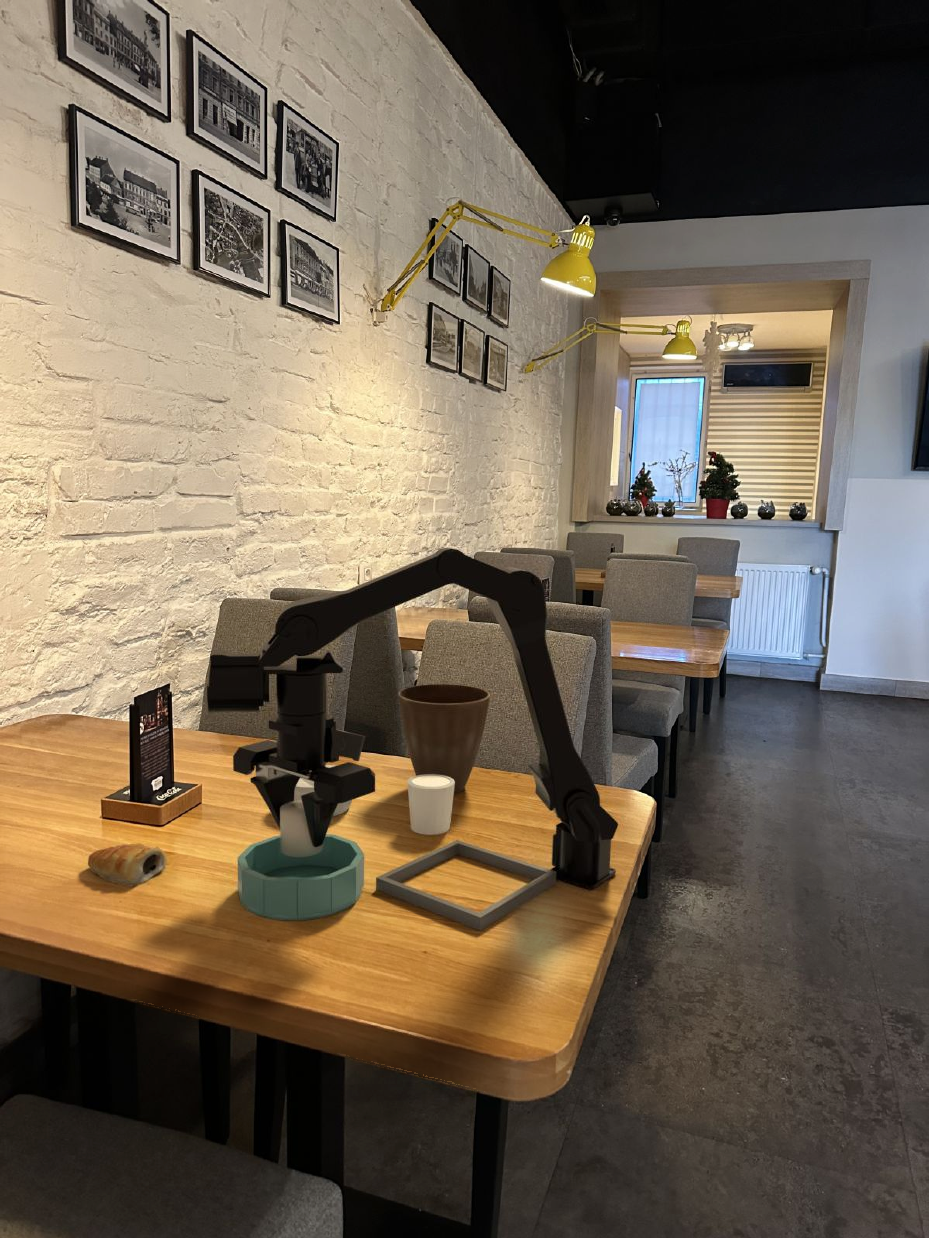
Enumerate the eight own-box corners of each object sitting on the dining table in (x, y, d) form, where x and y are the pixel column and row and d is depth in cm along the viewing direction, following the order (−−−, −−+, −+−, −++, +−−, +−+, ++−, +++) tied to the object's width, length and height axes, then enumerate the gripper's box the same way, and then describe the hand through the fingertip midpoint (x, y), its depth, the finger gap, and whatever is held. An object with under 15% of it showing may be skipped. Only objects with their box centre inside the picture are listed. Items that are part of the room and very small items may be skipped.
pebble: (332, 847, 100) (332, 806, 99) (300, 860, 96) (299, 818, 95) (304, 836, 103) (303, 797, 102) (271, 849, 99) (271, 808, 98)
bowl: (386, 889, 101) (387, 853, 101) (295, 933, 90) (295, 893, 89) (306, 857, 110) (306, 824, 109) (214, 894, 99) (213, 857, 98)
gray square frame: (556, 883, 104) (556, 871, 104) (480, 930, 92) (480, 917, 91) (456, 850, 113) (456, 839, 113) (375, 889, 101) (376, 877, 101)
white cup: (397, 830, 120) (397, 783, 119) (421, 815, 126) (422, 770, 125) (439, 839, 117) (440, 791, 116) (462, 824, 123) (463, 778, 122)
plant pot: (497, 800, 134) (499, 701, 132) (403, 805, 131) (405, 704, 129) (476, 772, 148) (478, 683, 146) (392, 775, 145) (393, 684, 143)
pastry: (73, 877, 103) (72, 847, 103) (113, 857, 109) (112, 829, 109) (135, 890, 100) (135, 859, 99) (173, 869, 106) (173, 839, 106)
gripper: (408, 711, 98) (407, 840, 100) (300, 688, 109) (301, 805, 111) (338, 729, 89) (338, 870, 91) (229, 702, 100) (231, 828, 102)
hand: (302, 840), depth 99 cm, fingers closed on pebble, 5 cm apart
